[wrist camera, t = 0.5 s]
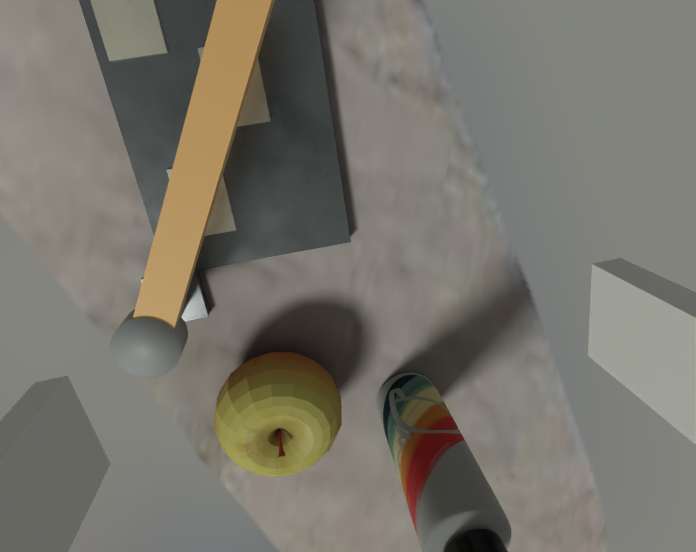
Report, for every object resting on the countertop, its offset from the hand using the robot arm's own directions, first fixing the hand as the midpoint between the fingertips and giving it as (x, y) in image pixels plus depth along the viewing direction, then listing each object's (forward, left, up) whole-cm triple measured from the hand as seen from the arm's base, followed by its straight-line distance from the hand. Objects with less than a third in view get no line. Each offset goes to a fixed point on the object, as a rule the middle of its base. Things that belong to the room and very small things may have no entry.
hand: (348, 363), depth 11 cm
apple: (+16, -5, -24) cm, 29 cm away
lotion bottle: (+20, +6, -24) cm, 32 cm away
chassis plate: (-6, -4, -24) cm, 25 cm away
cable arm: (-3, -6, -18) cm, 19 cm away
